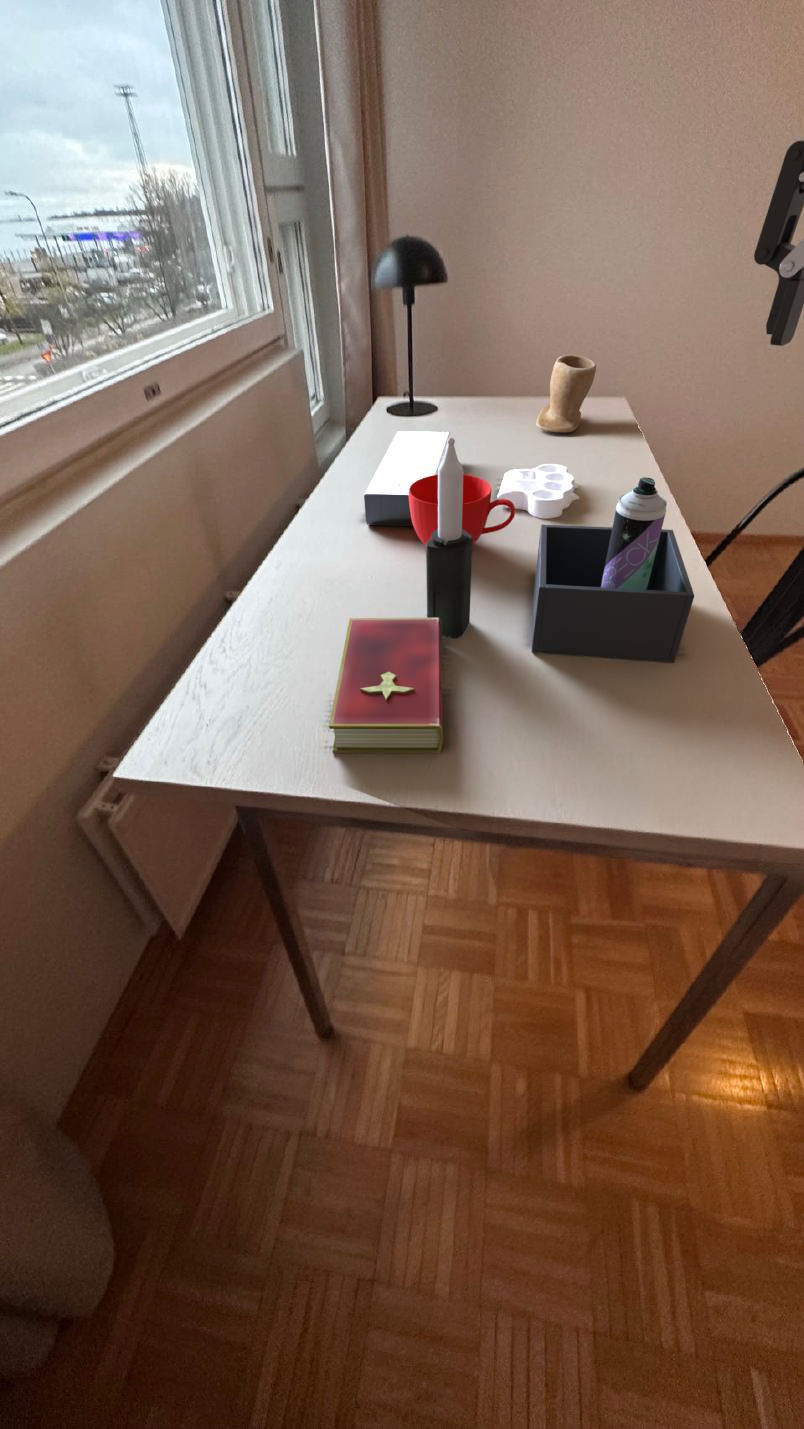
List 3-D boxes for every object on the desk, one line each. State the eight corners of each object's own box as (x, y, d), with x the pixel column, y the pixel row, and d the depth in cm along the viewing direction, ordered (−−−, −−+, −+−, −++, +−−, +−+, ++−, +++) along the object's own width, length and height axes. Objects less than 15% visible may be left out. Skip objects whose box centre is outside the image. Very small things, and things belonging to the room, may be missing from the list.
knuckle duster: (505, 478, 127) (580, 482, 124) (494, 515, 114) (577, 520, 111) (507, 461, 125) (583, 465, 122) (495, 497, 112) (580, 502, 109)
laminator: (428, 530, 110) (428, 496, 106) (360, 528, 112) (357, 493, 108) (449, 462, 135) (450, 431, 131) (393, 460, 137) (392, 430, 133)
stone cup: (584, 438, 144) (595, 364, 134) (531, 435, 147) (538, 362, 137) (590, 418, 154) (601, 349, 144) (541, 415, 157) (549, 347, 148)
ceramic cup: (504, 573, 98) (509, 511, 91) (400, 561, 102) (397, 501, 95) (518, 537, 107) (523, 478, 100) (422, 527, 111) (421, 470, 105)
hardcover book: (441, 642, 84) (441, 615, 81) (442, 753, 68) (443, 724, 66) (352, 643, 85) (349, 616, 82) (333, 752, 69) (328, 724, 66)
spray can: (589, 619, 86) (617, 471, 73) (629, 619, 86) (665, 470, 73) (597, 642, 82) (628, 489, 69) (640, 641, 82) (679, 488, 69)
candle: (424, 633, 86) (421, 443, 70) (437, 613, 90) (437, 429, 73) (460, 639, 84) (465, 447, 68) (471, 620, 88) (479, 432, 72)
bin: (657, 591, 92) (673, 529, 86) (674, 663, 79) (694, 595, 73) (534, 585, 95) (541, 524, 88) (531, 652, 82) (539, 587, 75)
